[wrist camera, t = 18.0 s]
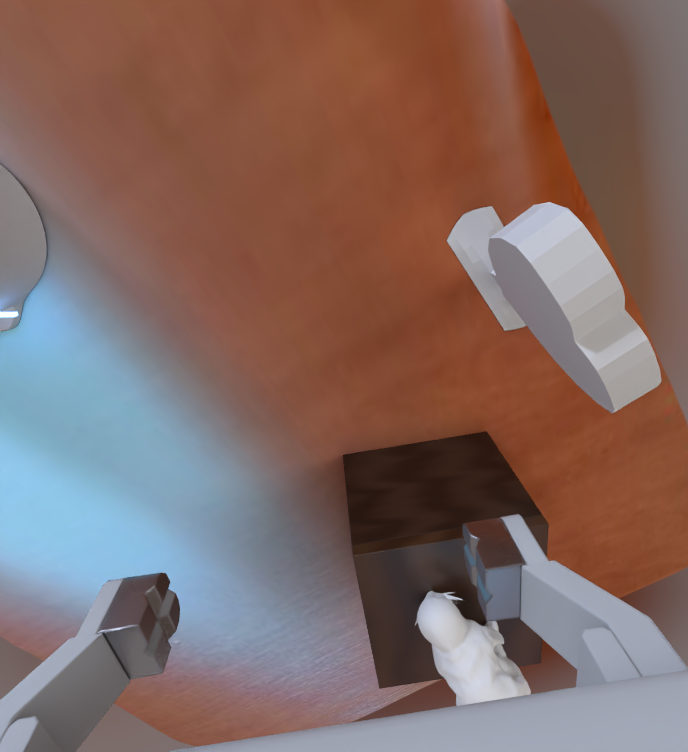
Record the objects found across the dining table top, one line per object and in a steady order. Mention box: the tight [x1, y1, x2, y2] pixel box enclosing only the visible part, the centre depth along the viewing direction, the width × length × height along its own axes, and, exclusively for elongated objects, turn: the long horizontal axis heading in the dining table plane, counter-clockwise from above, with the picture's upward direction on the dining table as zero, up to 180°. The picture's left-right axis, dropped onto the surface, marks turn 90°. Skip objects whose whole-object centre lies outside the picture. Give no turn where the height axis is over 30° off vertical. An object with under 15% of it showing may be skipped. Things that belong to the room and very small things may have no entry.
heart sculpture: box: [447, 202, 661, 413], centre depth 35 cm, size 16×5×18 cm, turn 38°
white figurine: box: [414, 591, 531, 706], centre depth 38 cm, size 6×8×12 cm
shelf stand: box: [343, 432, 548, 688], centre depth 49 cm, size 17×19×15 cm
